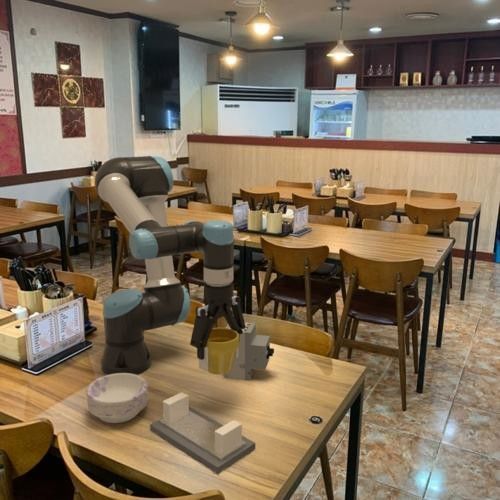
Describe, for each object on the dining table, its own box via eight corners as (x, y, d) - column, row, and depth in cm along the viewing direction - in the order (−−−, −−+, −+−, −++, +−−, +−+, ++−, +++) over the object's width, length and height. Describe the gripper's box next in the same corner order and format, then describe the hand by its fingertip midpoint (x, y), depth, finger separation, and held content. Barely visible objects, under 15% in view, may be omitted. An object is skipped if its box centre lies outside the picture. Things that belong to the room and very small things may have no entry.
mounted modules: (163, 419, 126) (162, 401, 125) (182, 409, 131) (181, 392, 130) (222, 455, 113) (222, 435, 111) (241, 443, 117) (241, 424, 116)
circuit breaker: (270, 382, 149) (271, 334, 146) (223, 377, 152) (222, 330, 149) (274, 370, 156) (275, 324, 153) (229, 366, 159) (229, 321, 156)
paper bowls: (151, 424, 128) (150, 396, 126) (88, 434, 124) (85, 405, 122) (146, 395, 142) (144, 368, 140) (88, 403, 138) (86, 376, 136)
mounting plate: (150, 429, 126) (150, 424, 125) (187, 410, 134) (187, 405, 134) (217, 473, 110) (217, 467, 110) (255, 448, 118) (255, 442, 118)
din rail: (159, 422, 126) (159, 420, 126) (184, 409, 132) (184, 407, 132) (221, 461, 112) (221, 458, 112) (246, 444, 117) (246, 442, 117)
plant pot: (214, 356, 142) (214, 323, 140) (246, 366, 137) (246, 332, 135) (191, 371, 134) (190, 337, 131) (224, 382, 128) (224, 346, 126)
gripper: (194, 296, 119) (195, 382, 124) (259, 275, 135) (258, 352, 141) (173, 289, 124) (176, 372, 129) (239, 270, 140) (239, 344, 145)
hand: (219, 362), depth 135 cm, fingers closed on plant pot, 10 cm apart
